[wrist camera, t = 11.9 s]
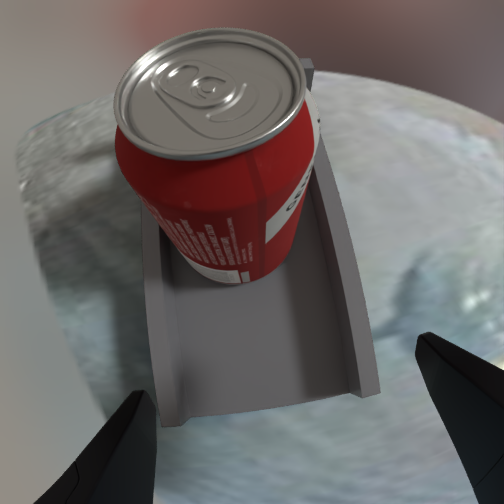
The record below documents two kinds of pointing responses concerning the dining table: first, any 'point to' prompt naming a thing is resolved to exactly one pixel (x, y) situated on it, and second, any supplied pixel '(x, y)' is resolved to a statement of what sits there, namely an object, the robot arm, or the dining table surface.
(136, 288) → the dining table surface
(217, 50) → the soda can
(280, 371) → the tray
